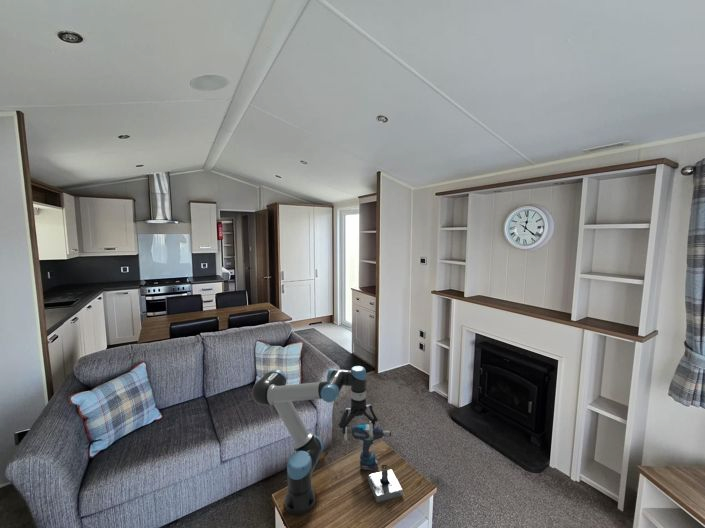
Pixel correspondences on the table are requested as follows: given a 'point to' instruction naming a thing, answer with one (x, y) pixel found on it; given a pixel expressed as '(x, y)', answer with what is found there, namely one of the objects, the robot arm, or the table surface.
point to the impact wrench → (368, 444)
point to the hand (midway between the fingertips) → (358, 436)
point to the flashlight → (384, 474)
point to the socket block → (387, 490)
